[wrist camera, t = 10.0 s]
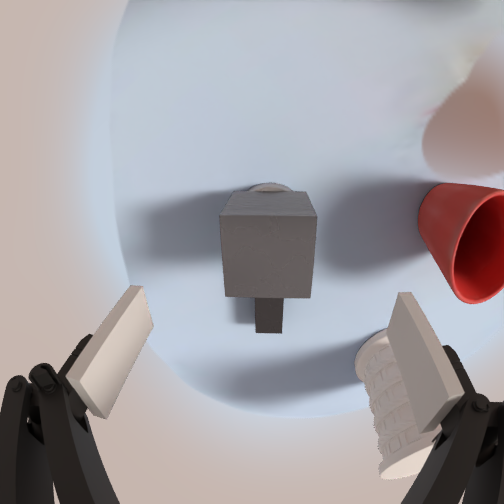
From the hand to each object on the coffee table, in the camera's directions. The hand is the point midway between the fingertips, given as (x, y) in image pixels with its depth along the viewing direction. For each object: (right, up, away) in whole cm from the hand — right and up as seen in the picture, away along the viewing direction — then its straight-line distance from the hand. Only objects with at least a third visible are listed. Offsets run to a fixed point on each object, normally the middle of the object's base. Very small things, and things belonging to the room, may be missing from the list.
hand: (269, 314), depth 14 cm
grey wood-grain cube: (+1, +6, +12) cm, 13 cm away
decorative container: (+19, -12, +22) cm, 31 cm away
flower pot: (+21, +7, +13) cm, 25 cm away
